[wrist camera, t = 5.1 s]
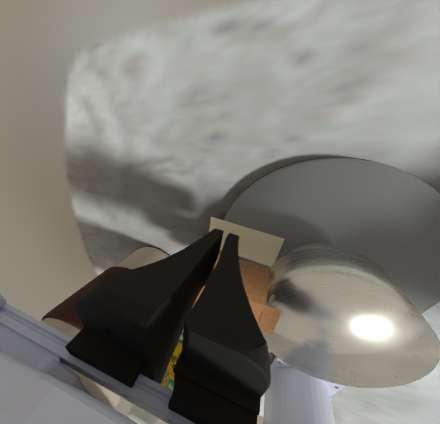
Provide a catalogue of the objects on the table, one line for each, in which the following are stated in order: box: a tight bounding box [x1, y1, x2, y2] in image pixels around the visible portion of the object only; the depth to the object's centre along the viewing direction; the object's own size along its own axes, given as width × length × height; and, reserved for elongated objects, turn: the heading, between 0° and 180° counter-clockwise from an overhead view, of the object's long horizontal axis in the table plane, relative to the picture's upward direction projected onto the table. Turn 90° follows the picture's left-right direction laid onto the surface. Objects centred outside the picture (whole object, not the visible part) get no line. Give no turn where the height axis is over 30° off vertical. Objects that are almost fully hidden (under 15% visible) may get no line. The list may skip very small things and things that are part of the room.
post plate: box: [209, 157, 440, 314], centre depth 13 cm, size 17×18×6 cm
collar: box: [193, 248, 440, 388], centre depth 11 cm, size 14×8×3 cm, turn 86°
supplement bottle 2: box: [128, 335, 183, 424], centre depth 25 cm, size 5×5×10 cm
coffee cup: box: [41, 247, 169, 409], centre depth 16 cm, size 10×10×15 cm
